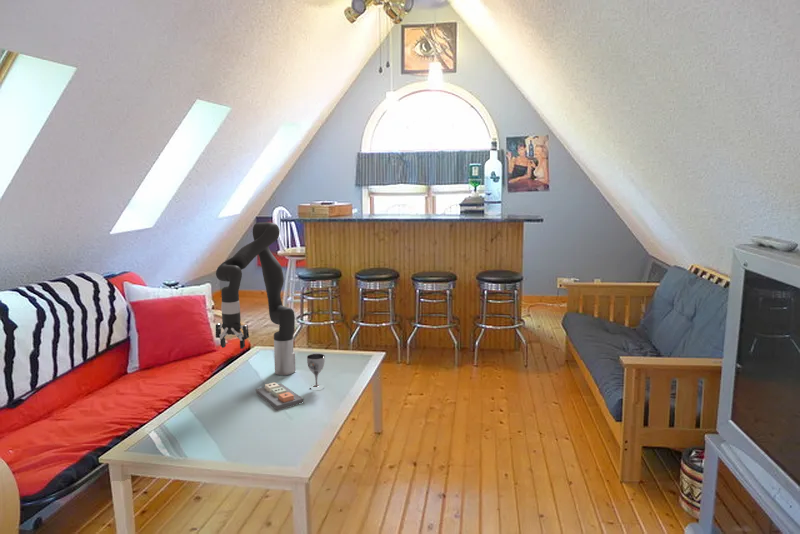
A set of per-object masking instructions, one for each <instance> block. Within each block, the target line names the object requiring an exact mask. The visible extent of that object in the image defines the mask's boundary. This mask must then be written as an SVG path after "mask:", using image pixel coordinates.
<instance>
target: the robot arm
mask: <svg viewBox="0 0 800 534" xmlns="http://www.w3.org/2000/svg"><path fill="white" fill-rule="evenodd" d="M279 236H280V227H279V225H278V224H277V223H274V222H256V223H255V224H254V225H253V227H252V237H253V241H251V242H249V243H247V244H246V245H244V246H243V247H241V248H240V249H239V250H238V251H237V252H236V253H235V254H234V255H233V256H232V257H230V258H228V259H227V260H225V261H223V262H222V263H220V265H219V266H218V267H217V269H216V271H215V276H216V278H217V279H218V280H219V281H221V282H229V283H228V286H224V287H222V288H221V290H220V291H221V292H220V293H221V295H220V296H221V307H220V308H221V310H220V311H221V320H222V321H221V322H222V323H221V322H218V323H217V324H215V338H216V339H217V338H218V339H219V340H220V341H219V342H220V347H221V348H222V349H223V348H225V347H226V346H227V345H226V336H227V335H231V336H232V335H233V336H236V337H237V338H238V339H239V348H240V349H241V350H243V349H244V348H245V347H246V340H247V339H249V338H250V335H249V334H250V333H249V325H248V324H244V325H243V324H241V321H242V320H241V304H240V297H239V296H240V294H239V291H240V286H241V281H242V278H243V276H242V275H243V272H242V270H244V269H245V268H247V267H248V266H249V264H250V263H251V262H252V261H253V260H254V259H255V258H256V257H257V256H258V257H259V261H260V266H261V272H262V277H263V281H264V285H265V292H266V297H267V304H268V316H269V320H270V321H271V323H273V324H275V325H279V327H278V331H275V332H274V334H273V350H274V351H273V355H274V374H276V375H278V376H287V375H288V376H289V375H291V374H293V373H296V372H295V371H296V353H295V352H294V333H295V327H296V326H295V325H296V316H295V311H294V310H293V308H290V307H288V306H284V305H283V301H282V297H281V293H282V289H283V287H284V283H285V282H284V281H285V278H284V277H285V276H284V273H283V268H282V267H283V266H282V265H281V263H280V262H279V260H277V258H276V256H275V255H273V253H272V252H271V250H270V247H269V246H271V245H273V244H274V243H275V242H276V241H277V240H278V238H279ZM222 329H223V331H222Z"/></svg>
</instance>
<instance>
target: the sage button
mask: <svg viewBox="0 0 800 534" xmlns="http://www.w3.org/2000/svg"><path fill="white" fill-rule="evenodd" d="M286 392H287V390H285V389H284V388H282V387H280V388H275V389H272V395H273V396H275V397H279V394H283V393H286Z"/></svg>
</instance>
